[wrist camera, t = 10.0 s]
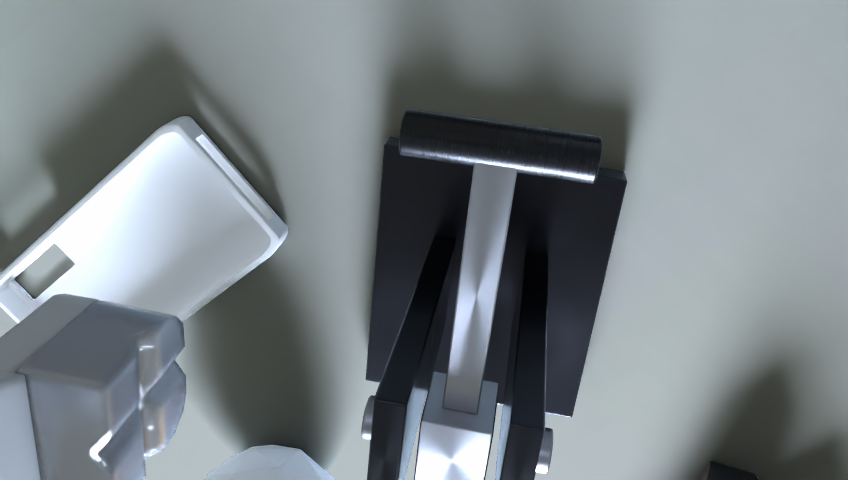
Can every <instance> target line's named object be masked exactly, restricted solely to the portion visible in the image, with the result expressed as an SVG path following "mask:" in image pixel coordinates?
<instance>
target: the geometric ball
mask: <svg viewBox="0 0 848 480" xmlns="http://www.w3.org/2000/svg"><path fill="white" fill-rule="evenodd" d="M205 480H335V479H334V478H333V477H332V476H331V475H330V474H329V473H327V472H326V471H325V470H324V469H323V468H322V467H320V466H319V465H318V464H317V463H316V462H315V461H313V460H312V459H311V458H310V457H309V456H308V455H306V454H305V453H304V452H303V451H302V450H301V449H296V448H290V447H284V446H277V445H265V446H256V447H251V448H249V449H247V450H245V451H243V452H241V453H239V454H237V455H235V456H233V457H231V458H230V459H229V460H227V461H226V462H224V463H223V464H221V465H220V466H219V467H217V468H216V469H214V470H213V471H212V472H210V473H209V474H207V475H206V478H205Z"/></svg>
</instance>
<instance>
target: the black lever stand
mask: <svg viewBox="0 0 848 480" xmlns="http://www.w3.org/2000/svg"><path fill="white" fill-rule="evenodd" d="M473 169H474V166H469V165H463V164H456V163H449V162H443V161H436V160H429V159H423V158H416V157H409V156H403V155H401V154H400V151H399V138H393V137H390V138H389V139H388V141H387V142H386V144H385V145H384V154H383V167H382V179H381V192H380V205H379V217H378V230H377V243H376V255H375V268H374V281H373V294H372V306H371V319H370V332H369V344H368V357H367V370H366V380H369V381H375V382H380V384H379V387H378V390H377V392H376V395H375V396H373V395H372V396H370V397H369V399H368V401H367V404H366V408H365V411H364V416H363V422H362V431H361V434H362V438H363V439H368V440H370V451H369V463H368V474H367V480H404V478H405V475H406V471H407V467H408V463H409V460H410V456H411V452H412V448H413V444H414V441H415V437H416V433H417V429H418V426H419V422H420V418H421V414H422V411H423V407H424V403H425V399H426V395H427V392H428V390H429V386H430V382H431V378H432V374H433V372H440V373H446V374H447V367H448V360H449V352H450V344H451V337H452V329H453V322H454V314H455V306H456V299H457V291H458V283H459V276H460V268H461V261H462V253H463V245H464V238H465V230H466V222H467V215H468V207H469V200H470V192H471V184H472V177H473ZM626 184H627V179H626V175H625V172H624V171H618V170H611V169H605V168H599V170H598V174H597V178H596V180H595V182H594V183H592V184H590V183H583V182H577V181H570V180H563V179H557V178H550V177H543V176H536V175H530V174H523V173H517V176H516V182H515V188H514V194H513V200H512V207H511V213H510V219H509V225H508V231H507V237H506V243H505V249H504V255H503V261H502V268H501V274H500V280H499V286H498V292H497V298H496V304H495V310H494V316H493V322H492V329H491V335H490V341H489V347H488V353H487V359H486V365H485V371H484V377H483V380H484V381H490V382H496V383H499V391H498V399H497V404H500V405H503V410H502V419H501V429H500V438H499V447H498V457H497V466H496V475H495V480H534V478H535V473H536V472H539V473H544V474H546V473H547V472H548V469H549V466H550V461H551V455H552V447H553V430H552V429H550V428H545V413H549V414H555V415H560V416H566V417H572V415H573V411H574V407H575V402H576V398H577V394H578V389H579V385H580V381H581V377H582V372H583V368H584V364H585V360H586V355H587V351H588V347H589V342H590V338H591V334H592V330H593V325H594V321H595V317H596V312H597V308H598V304H599V300H600V295H601V291H602V287H603V283H604V278H605V274H606V270H607V265H608V261H609V257H610V253H611V248H612V244H613V240H614V236H615V231H616V227H617V223H618V218H619V214H620V210H621V206H622V201H623V197H624V193H625V188H626Z"/></svg>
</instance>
